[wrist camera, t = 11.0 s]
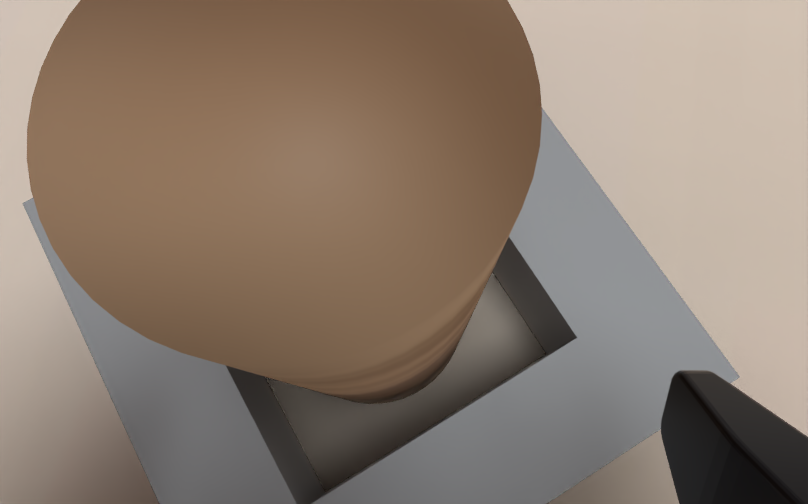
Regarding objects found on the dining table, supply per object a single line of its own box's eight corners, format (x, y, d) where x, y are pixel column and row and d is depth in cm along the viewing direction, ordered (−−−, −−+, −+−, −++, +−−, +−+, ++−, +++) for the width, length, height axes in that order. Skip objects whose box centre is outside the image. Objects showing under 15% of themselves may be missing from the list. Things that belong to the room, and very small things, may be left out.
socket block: (286, 638, 16) (248, 699, 12) (95, 243, 18) (22, 203, 15) (676, 385, 17) (740, 376, 13) (441, 53, 20) (446, -23, 16)
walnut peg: (416, 435, 17) (405, 468, 5) (254, 355, 17) (-78, 225, 6) (490, 271, 18) (617, -5, 6) (335, 202, 19) (193, -162, 7)
